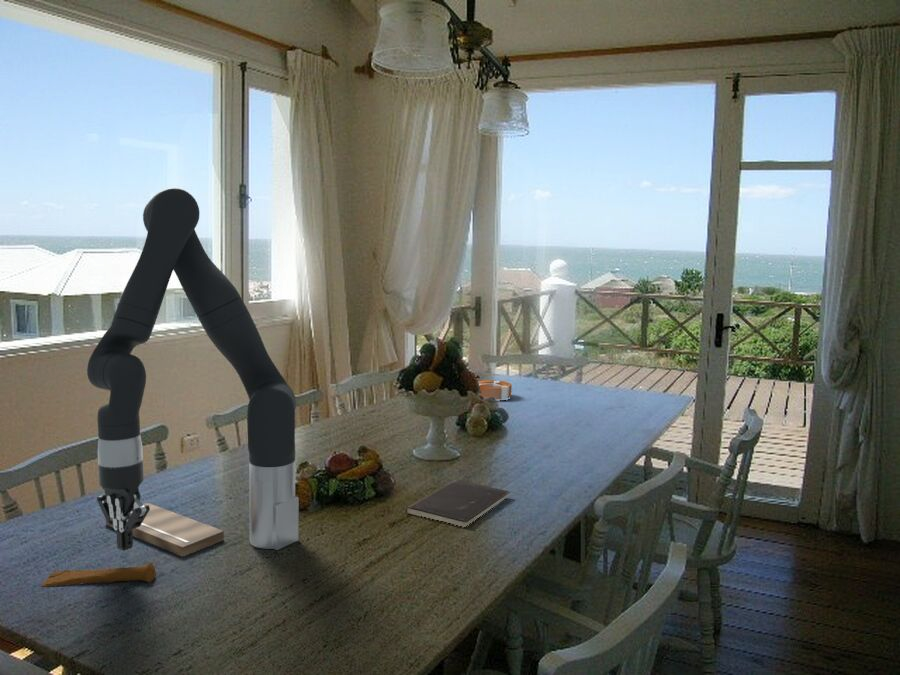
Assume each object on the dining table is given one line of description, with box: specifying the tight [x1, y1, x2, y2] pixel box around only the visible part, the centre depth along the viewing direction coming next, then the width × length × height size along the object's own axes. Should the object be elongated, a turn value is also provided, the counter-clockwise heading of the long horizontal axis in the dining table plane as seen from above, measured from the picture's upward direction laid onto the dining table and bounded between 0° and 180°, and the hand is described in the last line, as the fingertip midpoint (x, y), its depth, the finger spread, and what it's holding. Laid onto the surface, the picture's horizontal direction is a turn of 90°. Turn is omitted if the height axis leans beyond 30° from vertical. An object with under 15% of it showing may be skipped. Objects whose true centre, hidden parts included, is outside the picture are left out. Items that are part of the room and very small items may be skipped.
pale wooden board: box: [105, 502, 225, 558], centre depth 152 cm, size 26×10×2 cm, turn 57°
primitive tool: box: [40, 562, 157, 587], centre depth 132 cm, size 19×6×4 cm, turn 97°
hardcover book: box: [405, 479, 511, 528], centre depth 174 cm, size 16×23×2 cm
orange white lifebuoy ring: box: [478, 377, 513, 399], centre depth 293 cm, size 7×15×15 cm
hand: (125, 548), depth 135 cm, fingers closed
